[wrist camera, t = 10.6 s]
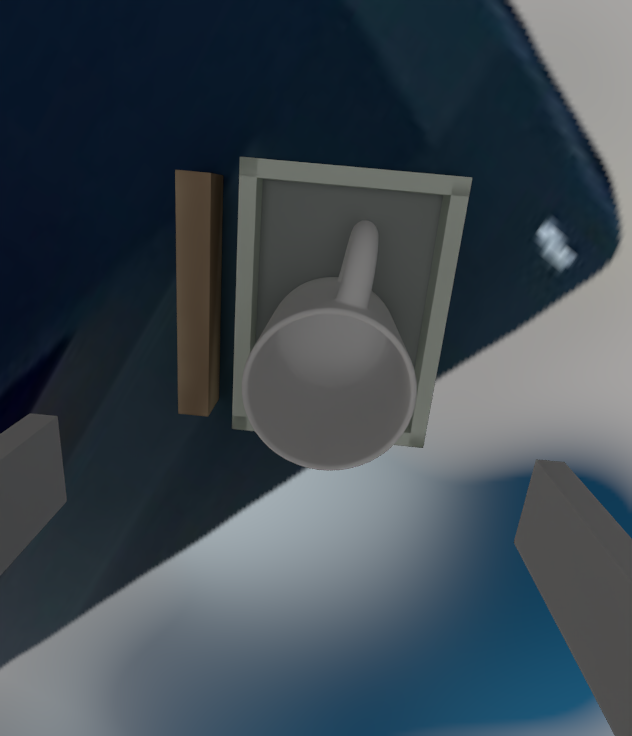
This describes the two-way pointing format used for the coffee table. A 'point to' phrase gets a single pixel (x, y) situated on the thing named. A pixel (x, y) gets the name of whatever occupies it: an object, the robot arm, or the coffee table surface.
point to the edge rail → (198, 289)
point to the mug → (332, 369)
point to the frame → (328, 246)
